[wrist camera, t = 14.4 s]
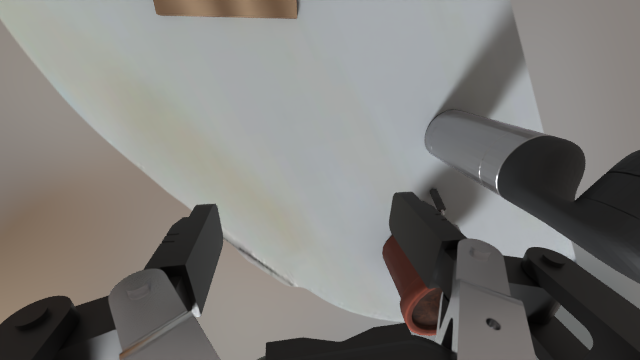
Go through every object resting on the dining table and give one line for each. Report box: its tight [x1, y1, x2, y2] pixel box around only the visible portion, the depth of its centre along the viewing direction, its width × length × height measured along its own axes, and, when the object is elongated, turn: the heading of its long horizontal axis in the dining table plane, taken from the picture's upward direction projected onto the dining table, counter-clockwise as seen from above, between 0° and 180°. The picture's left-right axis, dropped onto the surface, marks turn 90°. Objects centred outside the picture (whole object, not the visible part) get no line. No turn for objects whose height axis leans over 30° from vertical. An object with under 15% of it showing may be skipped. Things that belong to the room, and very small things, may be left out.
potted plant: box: [382, 189, 461, 336], centre depth 46 cm, size 18×22×25 cm
